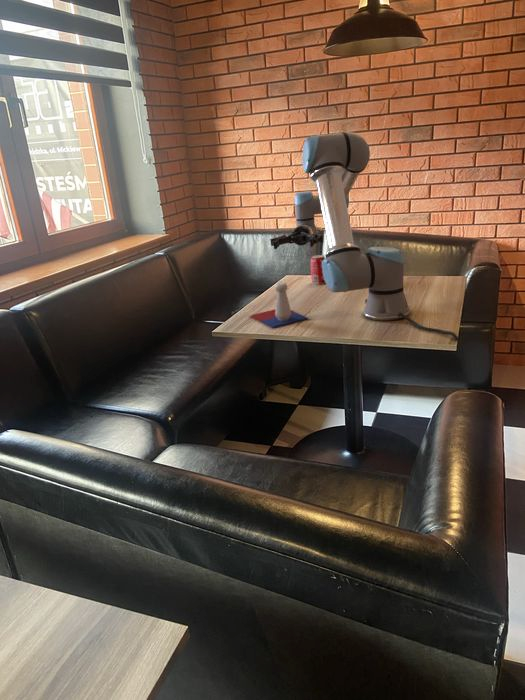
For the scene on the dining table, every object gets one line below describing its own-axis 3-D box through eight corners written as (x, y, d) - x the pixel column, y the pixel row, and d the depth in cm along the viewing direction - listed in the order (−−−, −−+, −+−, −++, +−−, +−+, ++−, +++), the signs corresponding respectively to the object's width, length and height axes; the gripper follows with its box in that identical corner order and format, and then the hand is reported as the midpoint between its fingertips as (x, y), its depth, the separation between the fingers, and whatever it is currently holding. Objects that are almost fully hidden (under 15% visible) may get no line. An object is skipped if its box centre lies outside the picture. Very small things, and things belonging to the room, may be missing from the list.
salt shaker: (282, 322, 187) (279, 286, 183) (272, 319, 192) (268, 284, 187) (295, 318, 190) (292, 282, 186) (284, 315, 195) (281, 280, 190)
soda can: (328, 280, 240) (326, 254, 235) (327, 284, 233) (325, 257, 229) (312, 281, 241) (310, 255, 237) (311, 285, 234) (309, 258, 230)
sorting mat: (307, 319, 190) (307, 317, 190) (272, 328, 185) (272, 326, 184) (283, 308, 205) (283, 307, 205) (250, 316, 200) (250, 315, 200)
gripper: (333, 242, 213) (327, 252, 194) (272, 246, 219) (261, 256, 200) (332, 223, 211) (326, 231, 191) (271, 227, 217) (258, 236, 198)
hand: (292, 244), depth 196 cm, fingers open, 13 cm apart
